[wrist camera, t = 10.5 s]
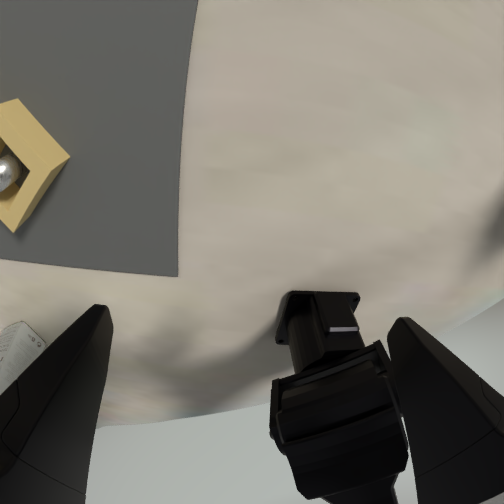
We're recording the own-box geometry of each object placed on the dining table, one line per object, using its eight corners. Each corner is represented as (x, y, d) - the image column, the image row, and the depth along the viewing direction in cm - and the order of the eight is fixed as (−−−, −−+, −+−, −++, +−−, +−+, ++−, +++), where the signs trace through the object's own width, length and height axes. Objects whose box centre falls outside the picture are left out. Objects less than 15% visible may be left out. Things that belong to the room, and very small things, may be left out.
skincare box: (22, 318, 24) (-18, 409, 14) (48, 344, 27) (17, 434, 17) (2, 329, 25) (-33, 408, 15) (26, 352, 28) (-3, 430, 18)
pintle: (33, 173, 16) (6, 193, 13) (14, 174, 16) (-12, 193, 13) (30, 146, 15) (1, 163, 12) (11, 148, 14) (-18, 165, 12)
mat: (178, 274, 22) (177, 276, 22) (-40, 250, 19) (-42, 252, 18) (211, -64, 9) (211, -66, 9) (-61, 22, 5) (-63, 22, 5)
